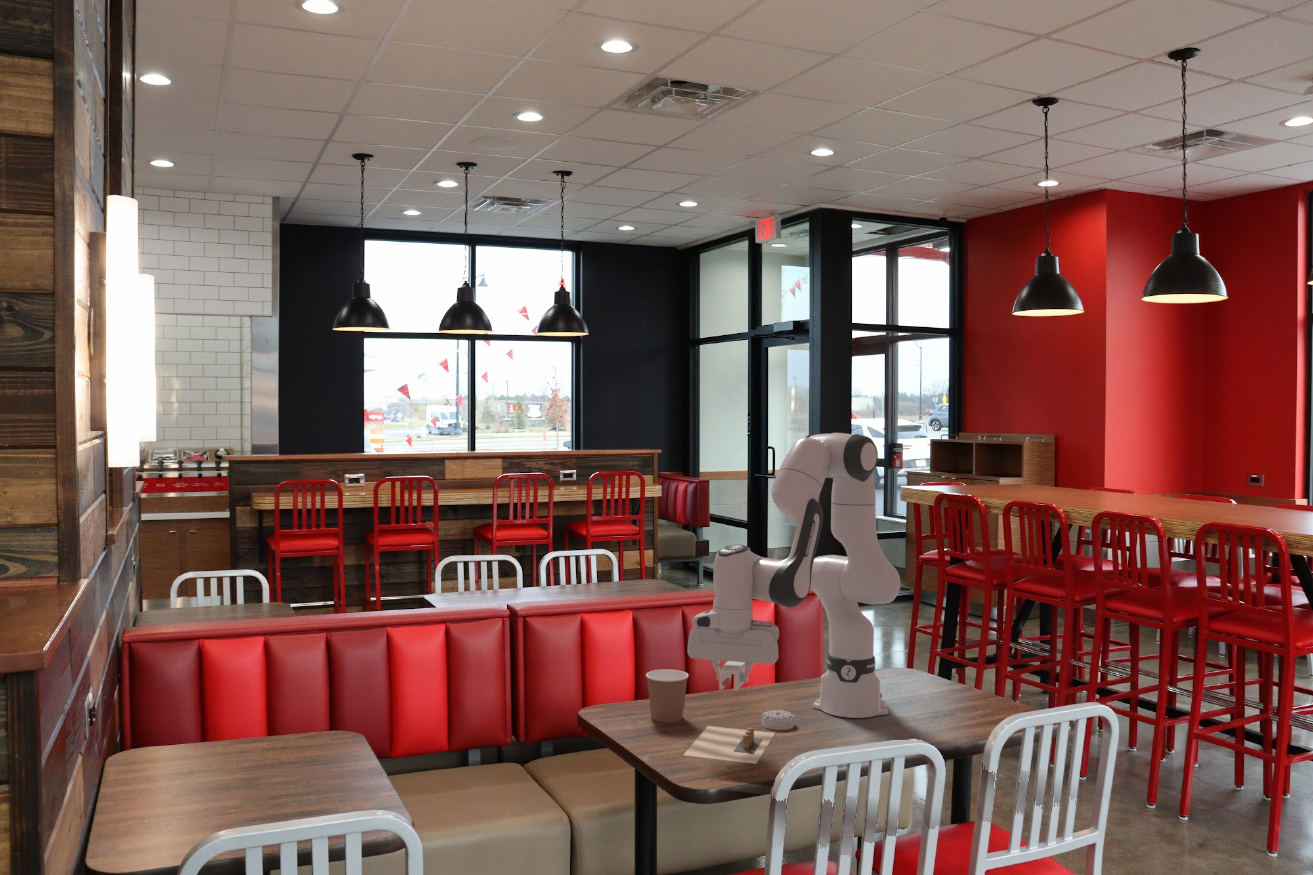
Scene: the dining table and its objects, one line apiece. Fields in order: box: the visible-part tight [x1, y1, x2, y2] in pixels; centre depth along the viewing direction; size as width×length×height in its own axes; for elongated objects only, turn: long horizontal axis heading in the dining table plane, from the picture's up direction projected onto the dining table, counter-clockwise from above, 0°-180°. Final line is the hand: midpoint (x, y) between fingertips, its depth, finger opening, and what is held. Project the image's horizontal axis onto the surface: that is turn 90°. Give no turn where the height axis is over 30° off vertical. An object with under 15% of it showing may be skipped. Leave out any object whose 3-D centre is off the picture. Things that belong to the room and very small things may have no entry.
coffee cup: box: [645, 668, 689, 724], centre depth 247 cm, size 10×10×12 cm
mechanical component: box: [761, 709, 795, 731], centre depth 242 cm, size 10×4×10 cm
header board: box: [682, 725, 776, 765], centre depth 228 cm, size 22×16×4 cm
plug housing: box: [718, 661, 746, 692], centre depth 227 cm, size 11×4×4 cm, turn 162°
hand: (732, 680), depth 228 cm, fingers closed on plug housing, 4 cm apart
